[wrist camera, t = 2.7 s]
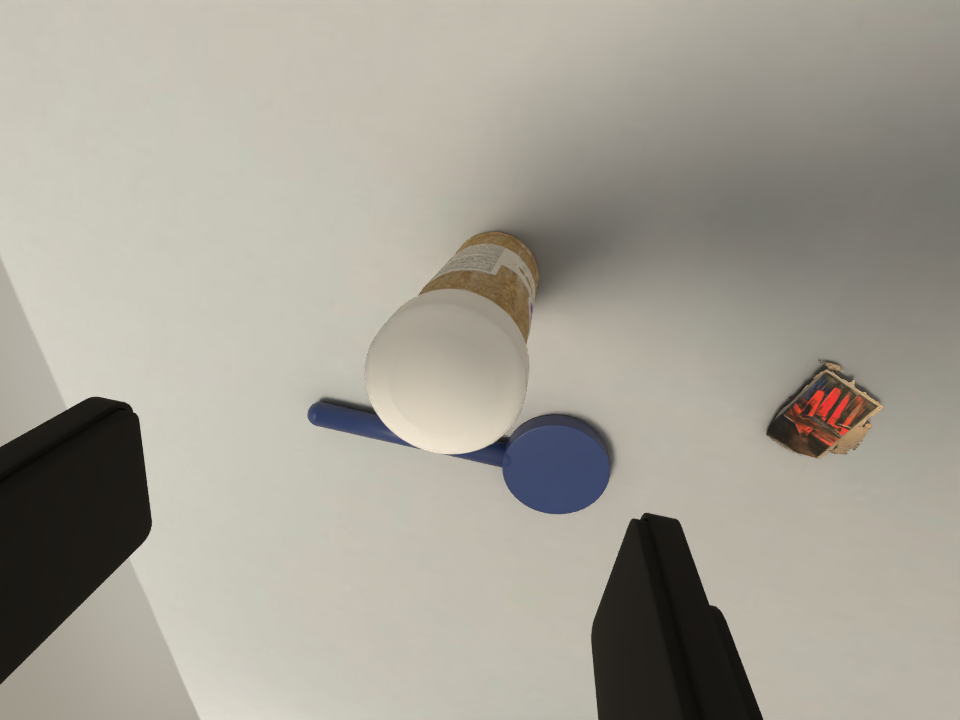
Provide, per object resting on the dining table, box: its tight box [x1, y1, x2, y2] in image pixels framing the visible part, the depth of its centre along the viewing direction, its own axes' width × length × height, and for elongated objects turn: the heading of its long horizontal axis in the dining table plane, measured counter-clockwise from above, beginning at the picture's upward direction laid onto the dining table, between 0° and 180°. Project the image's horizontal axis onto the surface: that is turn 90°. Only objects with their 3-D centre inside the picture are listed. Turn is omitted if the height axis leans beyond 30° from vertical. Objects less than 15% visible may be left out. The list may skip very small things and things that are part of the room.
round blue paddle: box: [308, 402, 610, 514], centre depth 29 cm, size 18×6×1 cm, turn 81°
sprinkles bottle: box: [365, 231, 539, 454], centre depth 20 cm, size 5×5×13 cm
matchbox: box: [766, 360, 883, 459], centre depth 26 cm, size 5×5×1 cm
